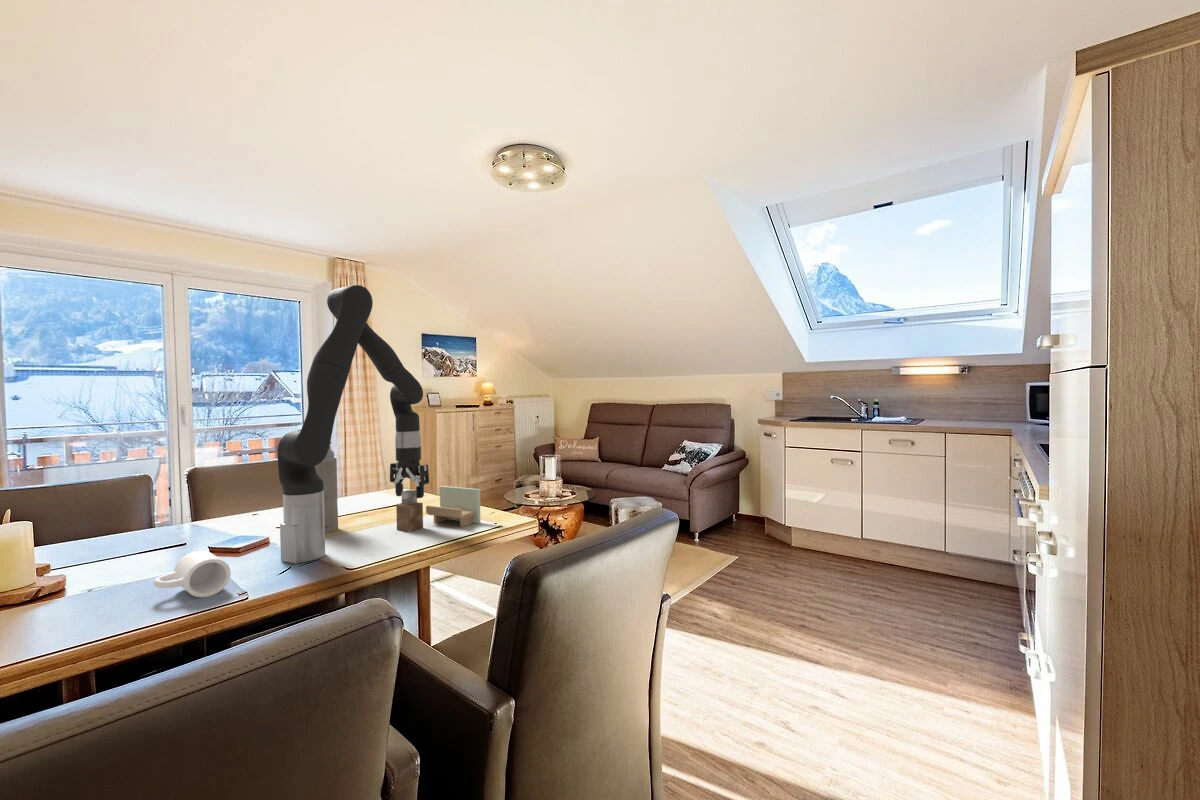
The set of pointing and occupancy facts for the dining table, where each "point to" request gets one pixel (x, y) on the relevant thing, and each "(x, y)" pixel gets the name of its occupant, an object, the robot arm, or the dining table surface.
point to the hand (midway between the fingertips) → (409, 496)
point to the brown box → (409, 512)
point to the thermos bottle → (329, 490)
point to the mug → (197, 574)
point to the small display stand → (457, 505)
